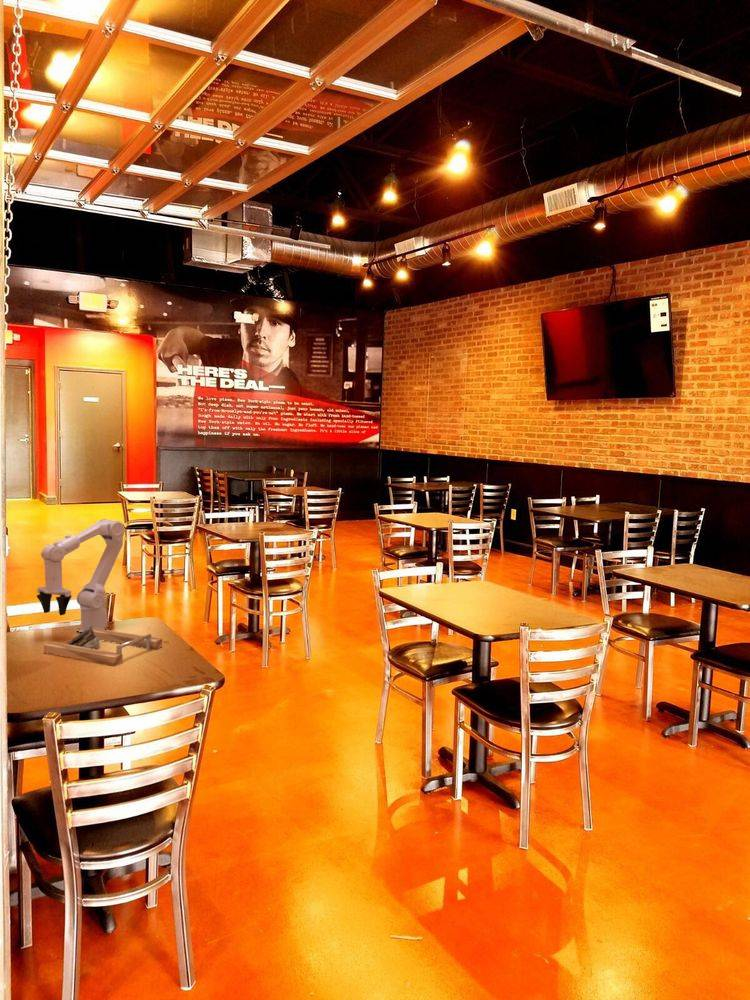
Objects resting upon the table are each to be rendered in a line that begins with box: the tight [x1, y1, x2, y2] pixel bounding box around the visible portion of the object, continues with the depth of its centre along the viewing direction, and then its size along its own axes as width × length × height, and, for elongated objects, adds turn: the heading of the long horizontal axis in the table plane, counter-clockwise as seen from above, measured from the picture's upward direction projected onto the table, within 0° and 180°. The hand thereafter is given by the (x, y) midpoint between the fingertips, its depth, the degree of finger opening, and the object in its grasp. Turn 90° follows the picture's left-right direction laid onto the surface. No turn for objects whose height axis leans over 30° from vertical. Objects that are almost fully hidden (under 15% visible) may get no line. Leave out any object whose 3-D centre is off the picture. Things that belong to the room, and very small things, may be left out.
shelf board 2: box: [92, 628, 163, 651], centre depth 273 cm, size 4×32×3 cm, turn 66°
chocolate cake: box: [65, 626, 101, 650], centre depth 265 cm, size 10×7×12 cm
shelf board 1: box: [43, 641, 124, 667], centre depth 255 cm, size 4×32×3 cm, turn 66°
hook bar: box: [115, 633, 152, 655], centre depth 258 cm, size 16×1×6 cm, turn 156°
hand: (54, 613), depth 275 cm, fingers open, 7 cm apart
